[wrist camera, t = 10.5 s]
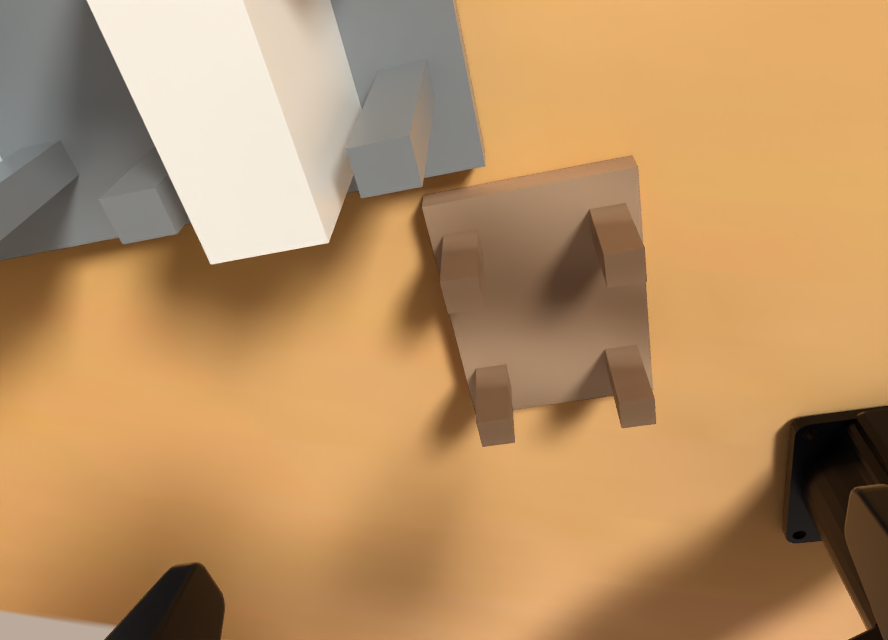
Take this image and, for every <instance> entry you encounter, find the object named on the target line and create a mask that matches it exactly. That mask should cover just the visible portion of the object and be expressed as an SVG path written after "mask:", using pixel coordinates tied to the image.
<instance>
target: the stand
mask: <svg viewBox="0 0 888 640" xmlns="http://www.w3.org/2000/svg"><path fill="white" fill-rule="evenodd" d="M422 210H423V214H424V217H425V221H426V225H427V229H428V233H429V237H430V241H431V244H432V248H433V252H434V256H435V260H436V264H437V268H438V271H439V275H440V286H441V290H442V293H443V297H444V301H445V305H446V309H447V312H448V314H450V318H451V321H452V325H453V329H454V333H455V337H456V341H457V345H458V348H459V352H460V356H461V360H462V364H463V368H464V371H465V375H466V379H467V383H468V387H469V391H470V395H471V398H472V402H473V406H474V410H475V414H476V423H477V427H478V431H479V435H480V439H481V443H482V446H483V447H485V446H492V445H500V444H508V443H515V435H514V421H513V410H514V409H521V408H528V407H535V406H542V405H549V404H557V403H564V402H571V401H578V400H585V399H592V398H599V397H606V396H614V400H615V404H616V408H617V411H618V415H619V419H620V423H621V427H622V428H628V427H636V426H643V425H651V424H656V413H655V398H654V395H653V392H652V390H653V384H652V369H651V354H650V339H649V324H648V309H647V294H646V282H647V276H646V260H645V247H644V245H643V234H642V219H641V204H640V189H639V174H638V165H637V164H636V162H635V160H634V158H633V156H627V157H622V158H617V159H611V160H606V161H601V162H596V163H590V164H585V165H580V166H575V167H570V168H564V169H559V170H554V171H549V172H543V173H538V174H533V175H528V176H522V177H517V178H512V179H507V180H501V181H496V182H491V183H486V184H480V185H475V186H470V187H465V188H460V189H454V190H449V191H444V192H439V193H433V194H428V195H423V203H422Z"/></svg>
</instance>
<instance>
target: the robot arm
mask: <svg viewBox="0 0 888 640" xmlns="http://www.w3.org/2000/svg"><path fill="white" fill-rule="evenodd" d="M807 430H809V431H807ZM805 431H807V432H805ZM782 529H783V532H784V535H785V537H786V539H787V540H788V541H789V542H792V543H805V542H814V541H823V543H824V545H825V547H826V549H827V551H828V553H829V555H830V557H831V559H832V561H833V563H834V565H835V567H836V569H837V571H838V573H839V575H840V577H841V579H842V581H843V583H844V585H845V587H846V589H847V591H848V593H849V595H850V597H851V599H852V601H853V603H854V605H855V607H856V609H857V611H858V613H859V615H860V617H861V619H862V621H863V623H864V625H865V627H866V629H867V631H865V632H863V633H861V634H859V635H857V636H855V637H853V638H851V639H849V640H888V406H883V407H875V408H868V409H860V410H852V411H845V412H837V413H829V414H822V415H814V416H806V417H802V418H800V419H798V420H796V421H795V422H794V423H793V424H792V425H791V428H790V439H789V451H788V463H787V476H786V488H785V500H784V513H783V525H782ZM224 611H225V602H224V597H223V594H222V592H221V591H220V589H219V588H218V586H217V584H216V583H215V581H214V580H213V578H212V577H211V575H210V574H209V572H208V571H207V569H206V568H205V567H204V565H202V564H200V563H197V562H195V563H186V564H178V565H175V566H173V567H171V568H170V569H169V570H168V571H167V572H166V573H165V574H164V575H163V576H162V577H161V578H160V579H159V580H158V582H157V583H156V584H155V585H154V586H153V587H152V588H151V589H150V590H149V591H148V592H147V594H146V595H145V596H144V597H143V598H142V599H141V600H140V601H139V602H138V603H137V604H136V606H135V607H134V608H133V609H132V610H131V611H130V612H129V613H128V614H127V615H126V617H125V618H124V619H123V620H122V621H121V622H120V623H119V624H118V625H117V626H116V627H115V629H114V630H113V631H112V632H111V633H110V634H109V635H108V636H107V637H106V639H105V640H221V634H222V626H223V619H224Z"/></svg>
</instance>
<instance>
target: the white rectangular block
mask: <svg viewBox="0 0 888 640" xmlns="http://www.w3.org/2000/svg"><path fill="white" fill-rule="evenodd" d="M87 2H88V4H89V6H90V9H91V11H92V13H93V15H94V17H95V19H96V21H97V23H98V26H99V28H100V30H101V32H102V34H103V36H104V38H105V40H106V43H107V45H108V47H109V49H110V51H111V53H112V55H113V58H114V60H115V62H116V64H117V66H118V68H119V70H120V72H121V75H122V77H123V79H124V81H125V83H126V85H127V87H128V89H129V92H130V94H131V96H132V98H133V100H134V102H135V104H136V106H137V109H138V111H139V113H140V115H141V117H142V119H143V121H144V123H145V126H146V128H147V130H148V132H149V134H150V136H151V138H152V141H153V143H154V145H155V147H156V149H157V151H158V153H159V155H160V158H161V160H162V162H163V164H164V166H165V168H166V170H167V172H168V175H169V177H170V179H171V181H172V183H173V185H174V187H175V189H176V192H177V194H178V196H179V198H180V200H181V202H182V204H183V206H184V209H185V211H186V213H187V215H188V217H189V219H190V221H191V223H192V226H193V228H194V230H195V232H196V234H197V236H198V238H199V241H200V243H201V245H202V247H203V249H204V251H205V253H206V255H207V258H208V260H209V262H210V264H217V263H222V262H228V261H233V260H239V259H244V258H249V257H255V256H260V255H266V254H271V253H277V252H282V251H287V250H293V249H298V248H304V247H309V246H315V245H320V244H326V243H329V241H330V238H331V235H332V233H333V230H334V227H335V224H336V222H337V219H338V216H339V213H340V210H341V208H342V205H343V202H344V199H345V197H346V194H347V191H348V188H349V186H350V183H351V180H352V177H353V175H354V174H353V171H352V168H351V164H350V161H349V158H348V155H347V151H346V147H347V145H348V142H349V140H350V137H351V135H352V133H353V130H354V128H355V125H356V123H357V121H358V118H359V116H360V113H361V111H362V109H361V105H360V102H359V98H358V95H357V91H356V88H355V84H354V81H353V77H352V74H351V71H350V67H349V64H348V60H347V57H346V53H345V50H344V46H343V43H342V39H341V36H340V32H339V29H338V25H337V22H336V18H335V15H334V11H333V8H332V5H331V1H330V0H87Z"/></svg>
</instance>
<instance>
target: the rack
mask: <svg viewBox="0 0 888 640" xmlns="http://www.w3.org/2000/svg"><path fill="white" fill-rule="evenodd" d="M330 1H331V5H332V8H333V11H334V15H335V18H336V22H337V25H338V29H339V32H340V36H341V39H342V43H343V46H344V50H345V53H346V57H347V60H348V64H349V67H350V71H351V74H352V77H353V81H354V84H355V88H356V91H357V95H358V98H359V102H360V105H361V109H362V111H361V113H360V116H359V118H358V121H357V123H356V125H355V128H354V130H353V133H352V135H351V137H350V140H349V142H348V145H347V147H346V151H347V155H348V158H349V161H350V164H351V168H352V171H353V174H354V175H353V177H352V180H351V183H350V186H349V188H348V191H347V193H350V192H355V191H359V193H360V196H361V198H367V197H372V196H377V195H382V194H387V193H393V192H398V191H403V190H408V189H413V188H418V187H423V180H424V178H427V177H432V176H437V175H442V174H448V173H453V172H458V171H463V170H468V169H473V168H478V167H484V166H485V149H484V144H483V139H482V133H481V128H480V123H479V118H478V113H477V108H476V103H475V97H474V92H473V87H472V82H471V77H470V72H469V67H468V61H467V56H466V51H465V46H464V41H463V36H462V31H461V25H460V20H459V15H458V10H457V5H456V0H330ZM0 157H1V158H2V160H3V161H1V162H0V261H1V260H6V259H11V258H16V257H21V256H27V255H32V254H37V253H42V252H47V251H52V250H57V249H63V248H68V247H73V246H78V245H83V244H88V243H93V242H98V241H104V240H109V239H114V238H119V239H120V241H121V242H122V244H128V243H133V242H138V241H144V240H149V239H154V238H159V237H164V236H170V235H175V234H178V233H179V231H180V230H181V229H182V227H183V226H184V225H186V224H191V221H190V219H189V217H188V215H187V213H186V211H185V209H184V206H183V204H182V202H181V200H180V198H179V196H178V194H177V192H176V189H175V187H174V185H173V183H172V181H171V179H170V177H169V175H168V172H167V170H166V168H165V166H164V164H163V162H162V160H161V158H160V155H159V153H158V151H157V149H156V147H155V145H154V143H153V141H152V138H151V136H150V134H149V132H148V130H147V128H146V126H145V123H144V121H143V119H142V117H141V115H140V113H139V111H138V109H137V106H136V104H135V102H134V100H133V98H132V96H131V94H130V92H129V89H128V87H127V85H126V83H125V81H124V79H123V77H122V75H121V72H120V70H119V68H118V66H117V64H116V62H115V60H114V58H113V55H112V53H111V51H110V49H109V47H108V45H107V43H106V40H105V38H104V36H103V34H102V32H101V30H100V28H99V26H98V23H97V21H96V19H95V17H94V15H93V13H92V11H91V9H90V6H89V4H88V2H87V0H0Z"/></svg>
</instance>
